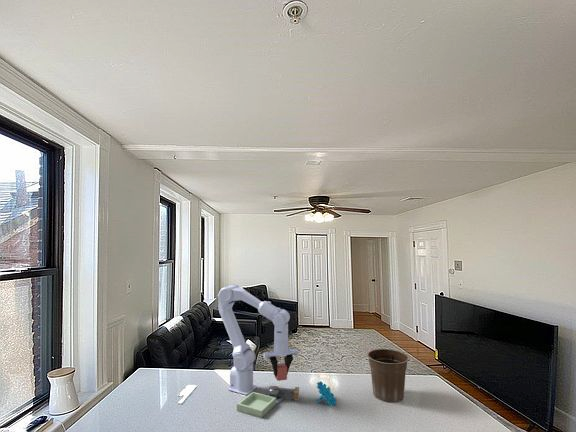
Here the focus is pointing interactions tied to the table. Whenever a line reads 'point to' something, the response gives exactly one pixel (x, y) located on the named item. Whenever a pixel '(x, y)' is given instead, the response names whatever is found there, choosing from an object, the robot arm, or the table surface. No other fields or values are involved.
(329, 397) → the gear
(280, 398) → the crank base
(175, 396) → the table surface
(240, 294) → the robot arm
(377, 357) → the plant pot
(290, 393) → the crank
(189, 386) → the butcher knife
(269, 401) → the tray
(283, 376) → the block
